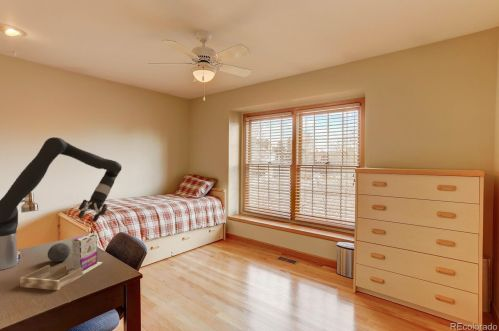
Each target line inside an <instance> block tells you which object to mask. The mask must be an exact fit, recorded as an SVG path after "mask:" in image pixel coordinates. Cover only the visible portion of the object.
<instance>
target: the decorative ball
mask: <svg viewBox="0 0 499 331" xmlns="http://www.w3.org/2000/svg"><path fill="white" fill-rule="evenodd" d="M70 253H71V248H70V246H69V245H67V244H66V243H63V242H58V243H55V244H53V245H51V247H50V248H49V249H48V251H47V258H48V259H49V260H50V261H51V262H53V263H60V262H63V261H65V260H66V259H68V257H69V256H70Z"/></svg>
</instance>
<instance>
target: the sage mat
mask: <svg viewBox="0 0 499 331" xmlns="http://www.w3.org/2000/svg"><path fill="white" fill-rule="evenodd" d="M102 264H104V262H103V261H97V263H96V264H95V265H93V266H91V267H89V268H87V269H86V270H84V271H83V275H86V274H87V273H88V272H90V271H91V270H94V269H95V268H97V267H99V266H100V265H102ZM72 272H73V269H71V270H69V271H66V274H70V273H72Z"/></svg>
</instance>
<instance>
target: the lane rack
mask: <svg viewBox="0 0 499 331" xmlns="http://www.w3.org/2000/svg"><path fill="white" fill-rule="evenodd" d="M83 276H84V274H83V268H82V267H81V268H79V269H77V270H75V271H73V272H72V273H67V266H64V265H63V266H61V267H60V268H57V269H56V270H54V271H52V272H51V265H50V264H47V265H45V266H43V267H41V268H38V269H37V270H34V271H32V272H30V273H28V274H25V275H24V276H21V277H20V278H19V287H21V288H30V289H42V290H50V291H52V290H53V291H59V290H60V289H63V288H64V287H66V286H68V285H69V284H71V283H73V282H74V281H76V280H78V279H79V278H81V277H83Z"/></svg>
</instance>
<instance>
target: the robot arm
mask: <svg viewBox="0 0 499 331" xmlns="http://www.w3.org/2000/svg"><path fill="white" fill-rule="evenodd" d="M59 155H63V156H67V157H70V158H73V159H75V160H77V161H79V162H81V163H83V164H85V165H87V166H90V167H93V168H94V169H98V170H102V169H103V170H104V171H105V172H104V175H103V176H102V178H101V179H100V181H99V182H98V184H97V186H96V187H95V189H94V190H93V192H92V194H91V196H90V199H89V200H87V199H83V201H82V202H81V204H80V205H79V206H78V210H79V211H80V212H79V214H78V215H77V216H78V219H82V218H83V217H84V215H85V214H86V212H87V211H95V214H94V216H93V218H92V223H96V222H97V221H98V219H99V217H100V216H105V213H106V212H107V210H108V204H106V203H105V202H106V200H107V199H108V196H109V194H110V192H111V189H112V187H113V186H114V183H115V181H116V179H117V177H118V176H119V174H120V172H121V171H122V167H123V166H122V165H121V163H120V162H118V161H116V160H112V159H109V158H103V157H101V156H99V155H96V154H94V153H91V152H89V151H86V150H84V149H81V148H79V147H76V146H75V145H72V144H71V143H69V142H67V141H65V140H64V139H63V138H60V137H54V136H53V137H49V138H47V139H46V140H45V141H44V143H43V144H42V146H41V148H40V150H39V151H38V153H37V154H36V155H35V157H33V159H32V160H31V161H30V162H29V163H28V164H27V165H26V167H25V168H24V169H23V170H22V171H21V172H20V174H19V175H18V176H17V177H16V179H15V181H14V182H13V183H12V185H10V187H9V188H8V190H7V192H6V193H5V195H3V196H2V197H1V199H0V270H1V271H2V270H6V269H10V268H13V267H15V266H17V264H18V239H17V236H18V235H17V232H18V231H17V229H18V226H19V209H18V206H19V205H20V203H21V202H22V201H23V200H24V199H25V198H27V196H28V195H29V194H31V192H33V191H34V190H35V189H36V188H37V187H38V185H39V184H40V183H41V181H42V180H43V179H44V177H45V176H46V173H47V172H48V169H49V167H50V166H51V164H52V163H53V161H55V159H56V158H57V157H58V156H59Z"/></svg>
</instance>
